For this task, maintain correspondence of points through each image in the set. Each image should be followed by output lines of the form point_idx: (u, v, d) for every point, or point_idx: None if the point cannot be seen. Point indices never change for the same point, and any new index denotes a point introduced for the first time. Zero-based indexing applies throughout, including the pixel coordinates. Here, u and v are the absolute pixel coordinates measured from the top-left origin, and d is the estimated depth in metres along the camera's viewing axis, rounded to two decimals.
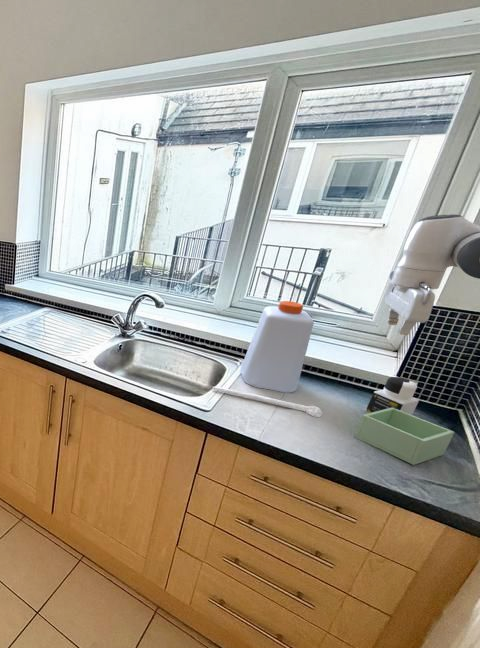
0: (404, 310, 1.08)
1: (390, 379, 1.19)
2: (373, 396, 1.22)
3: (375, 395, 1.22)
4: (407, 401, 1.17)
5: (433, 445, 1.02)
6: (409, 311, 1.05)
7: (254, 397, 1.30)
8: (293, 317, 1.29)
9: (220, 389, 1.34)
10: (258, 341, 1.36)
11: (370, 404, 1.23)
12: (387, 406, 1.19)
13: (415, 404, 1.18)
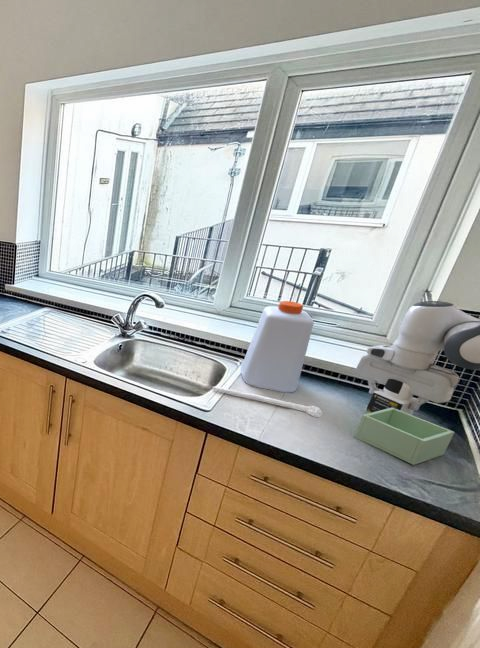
0: (423, 392, 1.13)
1: (390, 379, 1.19)
2: (373, 396, 1.22)
3: (375, 395, 1.22)
4: (407, 401, 1.17)
5: (433, 445, 1.02)
6: (439, 394, 1.10)
7: (254, 397, 1.30)
8: (293, 317, 1.29)
9: (220, 389, 1.34)
10: (258, 341, 1.36)
11: (370, 404, 1.23)
12: (387, 406, 1.19)
13: None
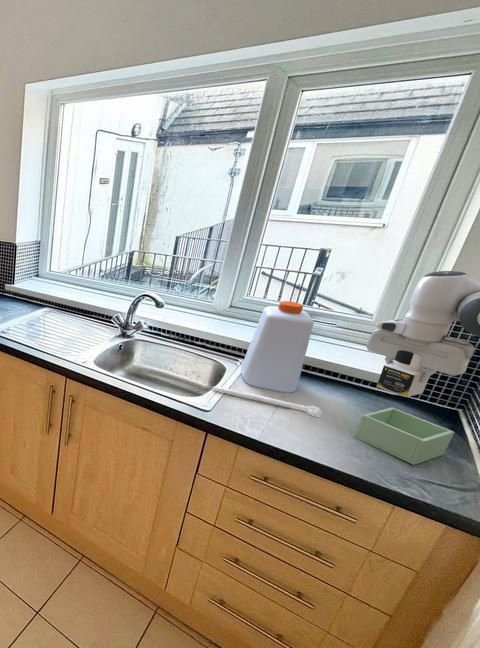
0: (437, 364, 1.10)
1: (400, 351, 1.17)
2: (384, 370, 1.19)
3: (385, 368, 1.19)
4: (419, 372, 1.14)
5: (433, 445, 1.02)
6: (453, 366, 1.07)
7: (254, 397, 1.30)
8: (293, 317, 1.29)
9: (220, 389, 1.34)
10: (258, 341, 1.36)
11: (381, 378, 1.20)
12: (399, 378, 1.16)
13: None
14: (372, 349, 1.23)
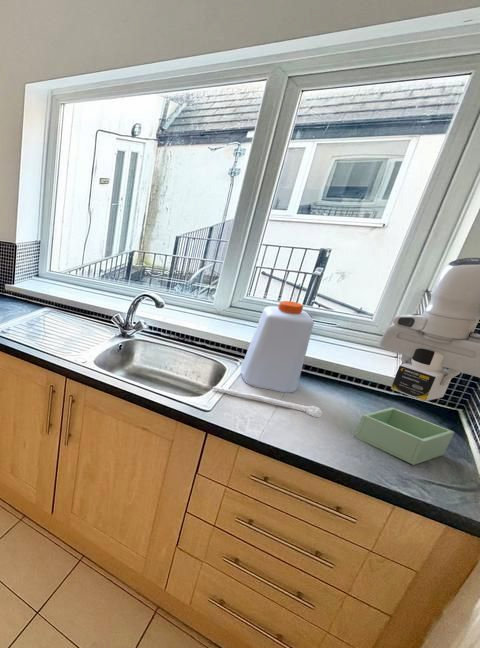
0: (462, 365, 0.97)
1: (418, 349, 1.03)
2: (400, 370, 1.06)
3: (402, 368, 1.05)
4: (440, 373, 1.00)
5: (433, 445, 1.02)
6: None
7: (254, 397, 1.30)
8: (293, 317, 1.29)
9: (220, 389, 1.34)
10: (258, 341, 1.36)
11: (396, 379, 1.07)
12: (417, 380, 1.03)
13: None
14: (386, 347, 1.09)
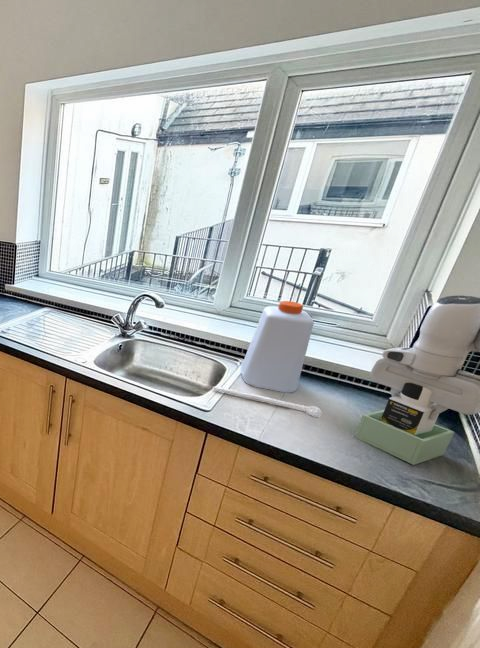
0: (449, 401, 0.98)
1: (407, 383, 1.04)
2: (389, 403, 1.07)
3: (391, 402, 1.06)
4: (428, 408, 1.02)
5: (433, 445, 1.02)
6: (468, 405, 0.95)
7: (254, 397, 1.30)
8: (293, 317, 1.29)
9: (220, 389, 1.34)
10: (258, 341, 1.36)
11: (385, 412, 1.08)
12: (405, 414, 1.04)
13: None
14: (376, 379, 1.10)
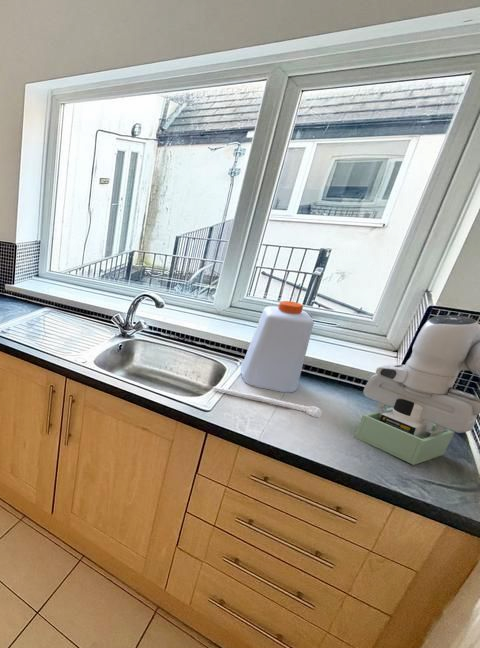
0: (441, 419, 0.99)
1: (399, 399, 1.06)
2: (382, 419, 1.09)
3: (384, 418, 1.08)
4: (420, 424, 1.03)
5: (433, 445, 1.02)
6: (459, 423, 0.96)
7: (254, 397, 1.30)
8: (293, 317, 1.29)
9: (220, 389, 1.34)
10: (258, 341, 1.36)
11: None
12: None
13: (430, 427, 1.04)
14: (370, 395, 1.12)
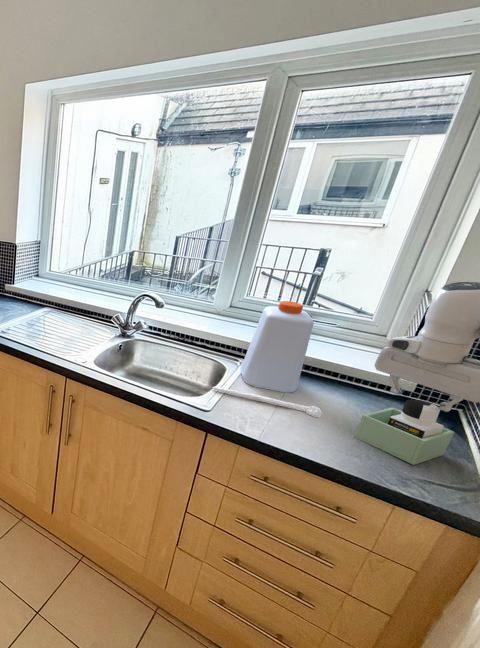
0: (456, 389, 0.96)
1: (408, 402, 1.05)
2: (390, 422, 1.07)
3: (392, 421, 1.07)
4: (430, 427, 1.02)
5: (433, 445, 1.02)
6: (476, 392, 0.94)
7: (254, 397, 1.30)
8: (293, 317, 1.29)
9: (220, 389, 1.34)
10: (258, 341, 1.36)
11: None
12: None
13: (439, 431, 1.03)
14: (381, 369, 1.09)
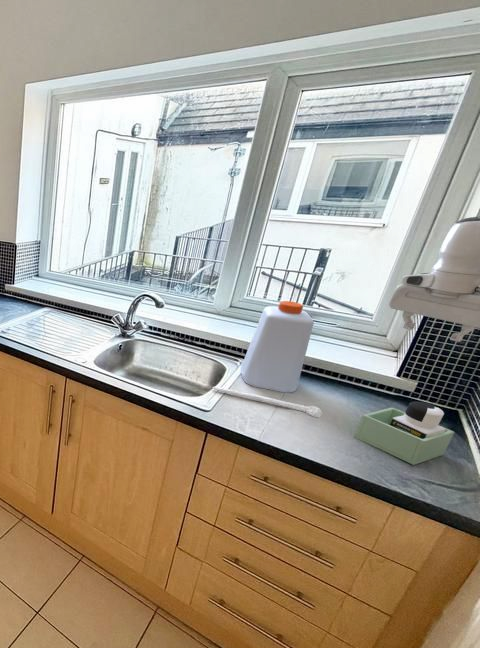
0: (468, 318, 1.02)
1: (412, 404, 1.04)
2: (392, 423, 1.07)
3: (394, 422, 1.06)
4: (432, 430, 1.01)
5: (433, 445, 1.02)
6: None
7: (254, 397, 1.30)
8: (293, 317, 1.29)
9: (220, 389, 1.34)
10: (258, 341, 1.36)
11: None
12: None
13: None
14: (395, 306, 1.14)
